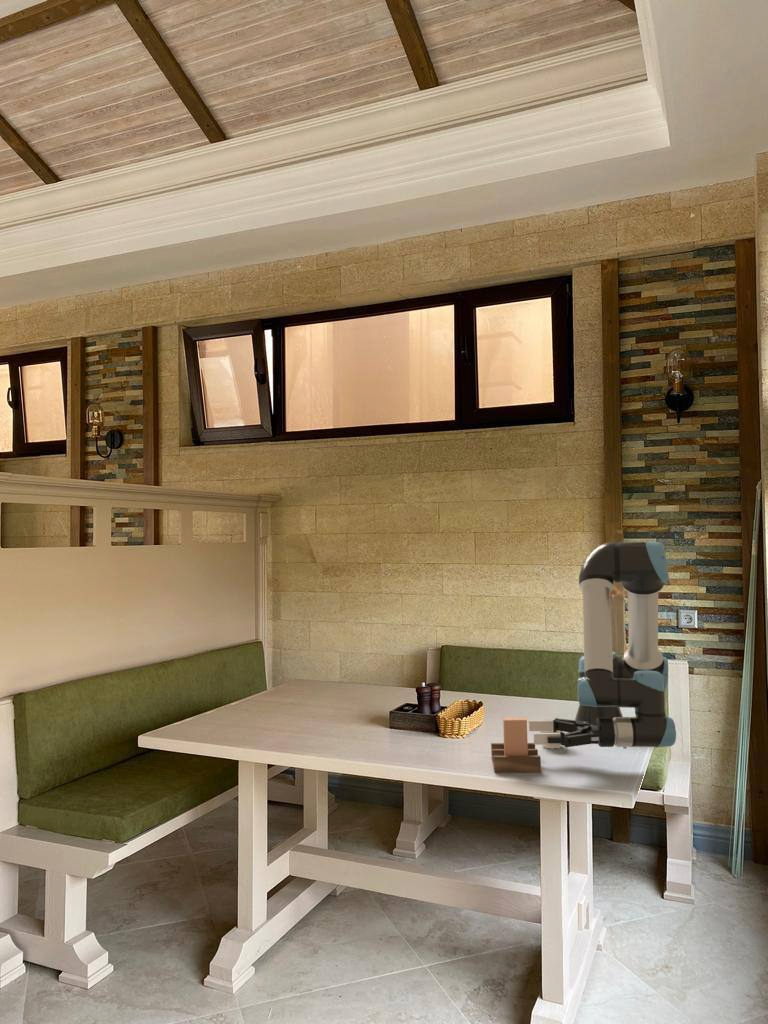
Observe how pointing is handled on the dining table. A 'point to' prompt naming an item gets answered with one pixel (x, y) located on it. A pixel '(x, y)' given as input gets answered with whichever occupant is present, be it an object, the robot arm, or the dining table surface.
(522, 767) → the rack
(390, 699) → the dining table surface
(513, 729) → the tile
